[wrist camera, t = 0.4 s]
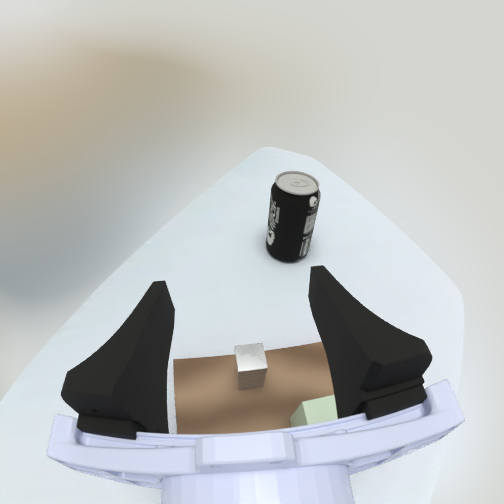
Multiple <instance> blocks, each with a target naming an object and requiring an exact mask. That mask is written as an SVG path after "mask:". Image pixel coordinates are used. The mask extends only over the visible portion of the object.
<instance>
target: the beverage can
mask: <svg viewBox="0 0 504 504" xmlns="http://www.w3.org/2000/svg"><path fill="white" fill-rule="evenodd" d="M319 201H320V191H319V182H318V181H317V179H315V178H314V177H313V176H311V175H309V174H307V173H304V172H299V171H286V172H283V173H280V174H279V175H277V177H276V179H275V183H274V184H273V186H272V188H271V197H270V208H269V219H268V230H267V240H266V245H267V248H268V250H269V252H270V253H271V254H272V255H274V256H275V257H276V258H278V259H280V260H284V261H295V260H298V259H300V258H302V257H304V256H305V255H306V254H307V252H308V250H309V246H310V242H311V237H312V233H313V229H314V224H315V220H316V215H317V210H318V206H319Z"/></svg>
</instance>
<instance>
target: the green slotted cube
mask: <svg viewBox="0 0 504 504" xmlns="http://www.w3.org/2000/svg"><path fill="white" fill-rule="evenodd" d="M336 419H338V417H337V410H336V402H335V396H334V395H331V396H326V397H322V398H318V399H313V400H309V401H304V402H302V403H301V404H300V405H299V407H298V408H297V410H296V411H295V412H294V413H293V415H292V416H291V417H290V422H291V427H298V426H304V425H310V424H316V423H321V422H326V421H331V420H336Z"/></svg>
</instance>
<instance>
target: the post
mask: <svg viewBox="0 0 504 504" xmlns="http://www.w3.org/2000/svg"><path fill="white" fill-rule="evenodd" d="M267 369H268V367H267V362H266V357H265V352H264V347H263V343H257V344H248V345H240V346H235V370H236V377H237V384H238V390H245V389H253V388H260V387H263V386H264V382H265V378H266V373H267Z"/></svg>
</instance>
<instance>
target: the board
mask: <svg viewBox="0 0 504 504" xmlns="http://www.w3.org/2000/svg"><path fill="white" fill-rule="evenodd" d="M264 352H265V357H266V362H267V367H268V369H267V373H266V378H265V382H264V386H263V387H260V388H253V389H245V390H238V384H237V377H236V370H235V355H225V356H214V357H202V358H188V359H173V364H174V389H175V407H176V422H177V434H231V433H246V432H258V431H268V430H277V429H284V428H292V427H291V422H290V417H291V416H292V415H293V413H294V412H295V411H296V410H297V408H298V407H299V405H300V404H301V403H302V402H304V401H309V400H313V399H318V398H322V397H326V396H331V395H334V390H333V384H332V379H331V374H330V369H329V364H328V360H327V356H326V352H325V349H324V346H323V343H322V342H318V343H312V344H307V345H301V346H294V347H288V348H282V349H275V350H268V351H264Z"/></svg>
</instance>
